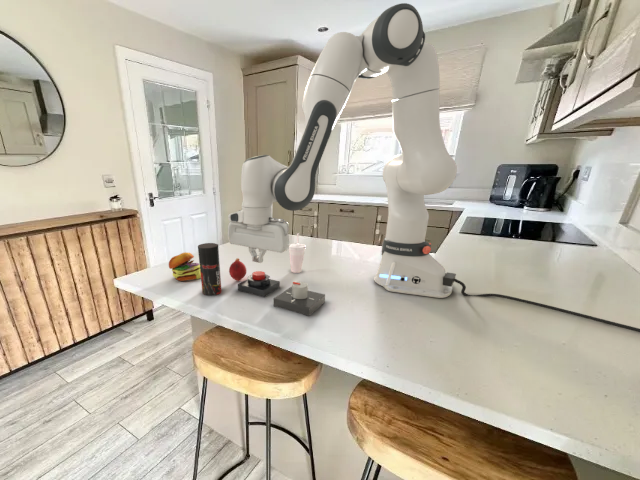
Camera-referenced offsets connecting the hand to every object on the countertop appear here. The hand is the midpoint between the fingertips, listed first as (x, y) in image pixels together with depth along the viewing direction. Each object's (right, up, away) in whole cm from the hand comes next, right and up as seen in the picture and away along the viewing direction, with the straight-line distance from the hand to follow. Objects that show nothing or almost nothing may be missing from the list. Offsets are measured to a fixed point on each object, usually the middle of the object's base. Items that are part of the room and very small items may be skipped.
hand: (257, 261), depth 94 cm
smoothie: (+14, -2, +18) cm, 23 cm away
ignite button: (0, -5, +2) cm, 6 cm away
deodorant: (-14, -10, +2) cm, 17 cm away
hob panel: (+12, -13, -7) cm, 19 cm away
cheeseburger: (-25, -4, +15) cm, 30 cm away
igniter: (0, -8, +4) cm, 9 cm away
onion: (-7, -6, +10) cm, 14 cm away
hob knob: (+12, -10, -8) cm, 18 cm away
